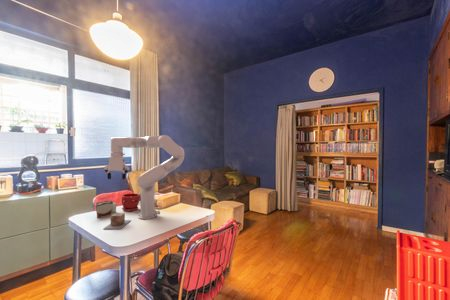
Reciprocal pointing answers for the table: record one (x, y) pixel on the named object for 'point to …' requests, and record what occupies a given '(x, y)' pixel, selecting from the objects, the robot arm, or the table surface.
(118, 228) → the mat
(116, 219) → the walnut block
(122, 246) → the table surface
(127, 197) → the plant pot
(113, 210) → the grey narrow block
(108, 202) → the food container
